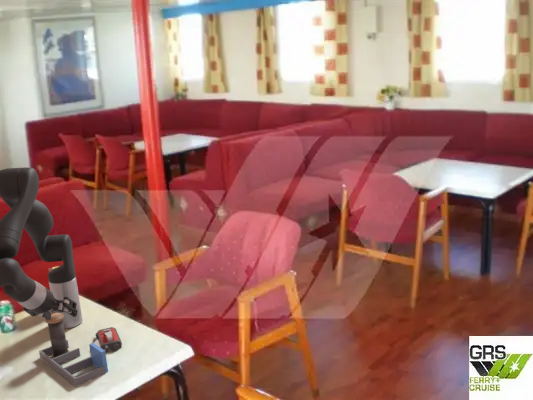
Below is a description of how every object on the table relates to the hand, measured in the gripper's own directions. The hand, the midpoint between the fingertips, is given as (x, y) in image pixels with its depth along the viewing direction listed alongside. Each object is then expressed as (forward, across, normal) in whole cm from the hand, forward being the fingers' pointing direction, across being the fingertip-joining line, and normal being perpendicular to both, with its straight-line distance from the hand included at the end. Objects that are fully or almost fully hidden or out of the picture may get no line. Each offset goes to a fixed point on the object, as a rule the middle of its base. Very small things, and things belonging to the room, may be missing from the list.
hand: (62, 315), depth 190 cm
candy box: (+42, +27, -20) cm, 53 cm away
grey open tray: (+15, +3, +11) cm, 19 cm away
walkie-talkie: (+24, -4, +4) cm, 24 cm away
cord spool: (+18, +10, +7) cm, 21 cm away
